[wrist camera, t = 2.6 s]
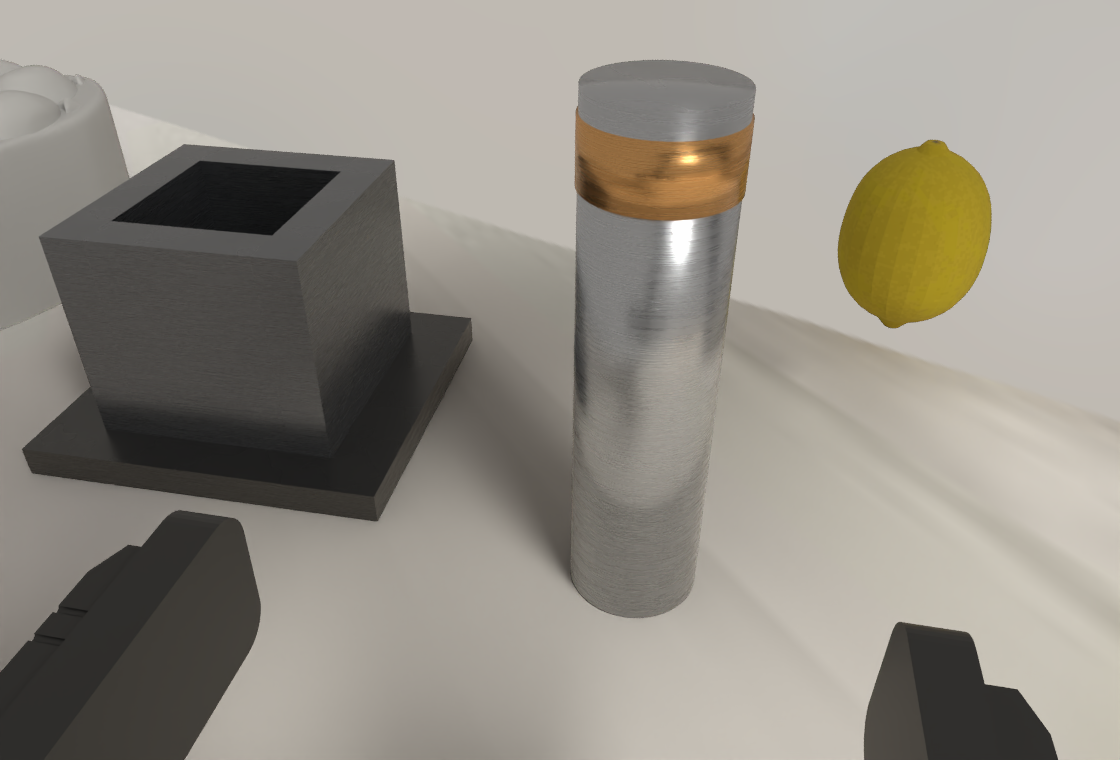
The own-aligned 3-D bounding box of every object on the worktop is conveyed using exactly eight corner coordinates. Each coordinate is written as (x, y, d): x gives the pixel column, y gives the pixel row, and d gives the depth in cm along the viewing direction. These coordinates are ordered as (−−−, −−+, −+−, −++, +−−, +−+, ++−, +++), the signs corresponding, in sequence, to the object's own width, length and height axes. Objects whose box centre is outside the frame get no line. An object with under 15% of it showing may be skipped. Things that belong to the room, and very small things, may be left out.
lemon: (796, 322, 38) (829, 137, 34) (871, 283, 41) (910, 108, 37) (914, 378, 35) (968, 180, 30) (985, 330, 38) (1044, 144, 33)
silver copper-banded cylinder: (699, 534, 27) (758, 64, 20) (691, 628, 24) (757, 117, 17) (580, 518, 28) (591, 55, 20) (557, 608, 25) (561, 104, 17)
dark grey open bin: (472, 339, 37) (461, 149, 32) (377, 521, 28) (344, 293, 23) (202, 310, 39) (156, 127, 34) (31, 472, 30) (-61, 252, 25)
